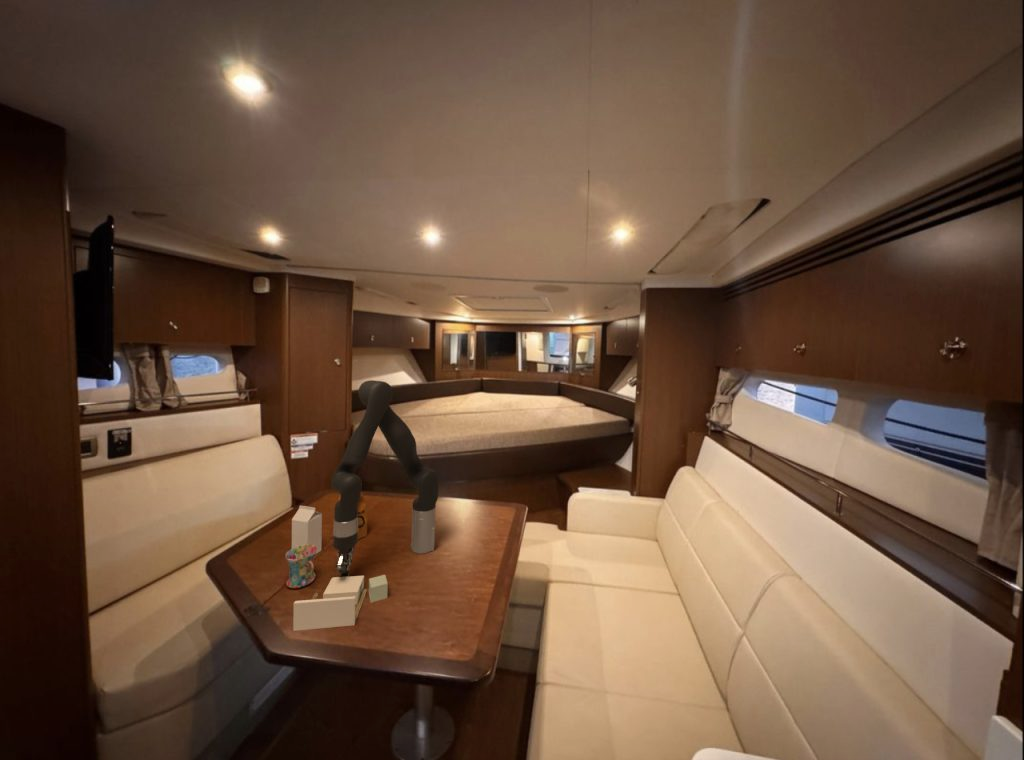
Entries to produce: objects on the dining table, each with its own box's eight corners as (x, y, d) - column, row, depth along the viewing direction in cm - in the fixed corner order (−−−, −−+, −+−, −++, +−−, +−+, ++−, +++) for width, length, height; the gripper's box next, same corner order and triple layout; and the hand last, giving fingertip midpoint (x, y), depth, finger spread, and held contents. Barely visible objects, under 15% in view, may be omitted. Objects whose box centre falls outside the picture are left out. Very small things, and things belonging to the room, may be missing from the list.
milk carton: (307, 561, 125) (307, 511, 124) (291, 558, 127) (291, 509, 126) (321, 550, 132) (322, 504, 131) (306, 548, 133) (306, 501, 133)
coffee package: (349, 545, 137) (350, 492, 136) (333, 535, 144) (334, 485, 143) (371, 535, 145) (372, 486, 144) (354, 526, 152) (355, 479, 151)
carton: (364, 588, 112) (364, 575, 112) (357, 605, 104) (357, 591, 104) (331, 590, 110) (332, 577, 110) (322, 608, 103) (322, 594, 102)
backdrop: (355, 622, 97) (355, 596, 97) (354, 625, 96) (354, 598, 96) (295, 628, 94) (295, 600, 94) (293, 630, 93) (293, 603, 93)
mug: (279, 584, 112) (279, 553, 111) (308, 570, 120) (308, 541, 119) (297, 598, 106) (297, 566, 105) (326, 582, 114) (327, 552, 113)
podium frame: (366, 591, 110) (366, 588, 110) (355, 621, 97) (355, 618, 97) (314, 595, 107) (314, 592, 107) (295, 626, 95) (295, 624, 95)
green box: (384, 588, 112) (385, 574, 112) (387, 598, 108) (387, 583, 107) (368, 593, 109) (369, 578, 109) (370, 603, 105) (370, 587, 105)
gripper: (351, 540, 106) (350, 592, 107) (362, 521, 119) (362, 567, 120) (326, 541, 105) (325, 594, 106) (340, 521, 118) (339, 569, 119)
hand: (344, 580), depth 113 cm, fingers closed
